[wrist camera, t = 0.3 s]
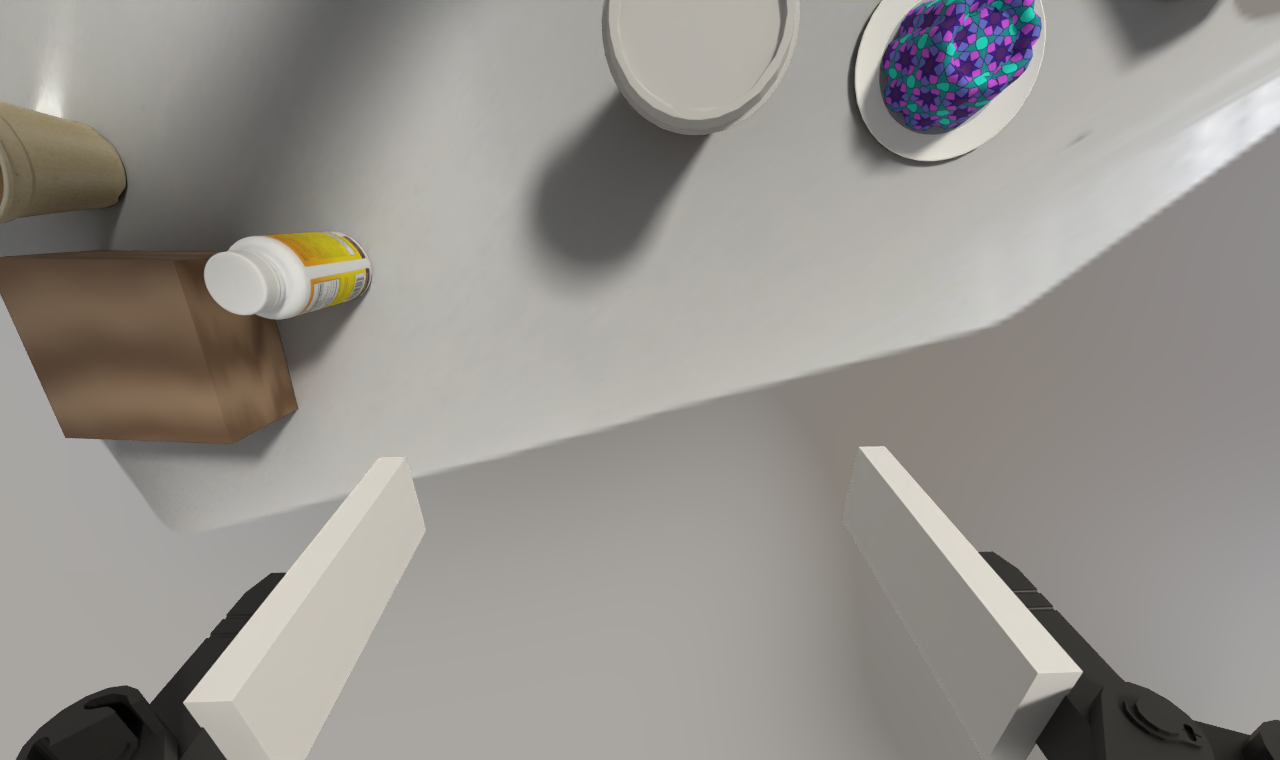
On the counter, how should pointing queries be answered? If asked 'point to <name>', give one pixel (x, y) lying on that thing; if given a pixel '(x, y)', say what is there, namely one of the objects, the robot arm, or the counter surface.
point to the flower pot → (54, 165)
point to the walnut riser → (144, 347)
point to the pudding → (948, 71)
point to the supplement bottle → (288, 274)
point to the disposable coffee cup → (698, 58)
